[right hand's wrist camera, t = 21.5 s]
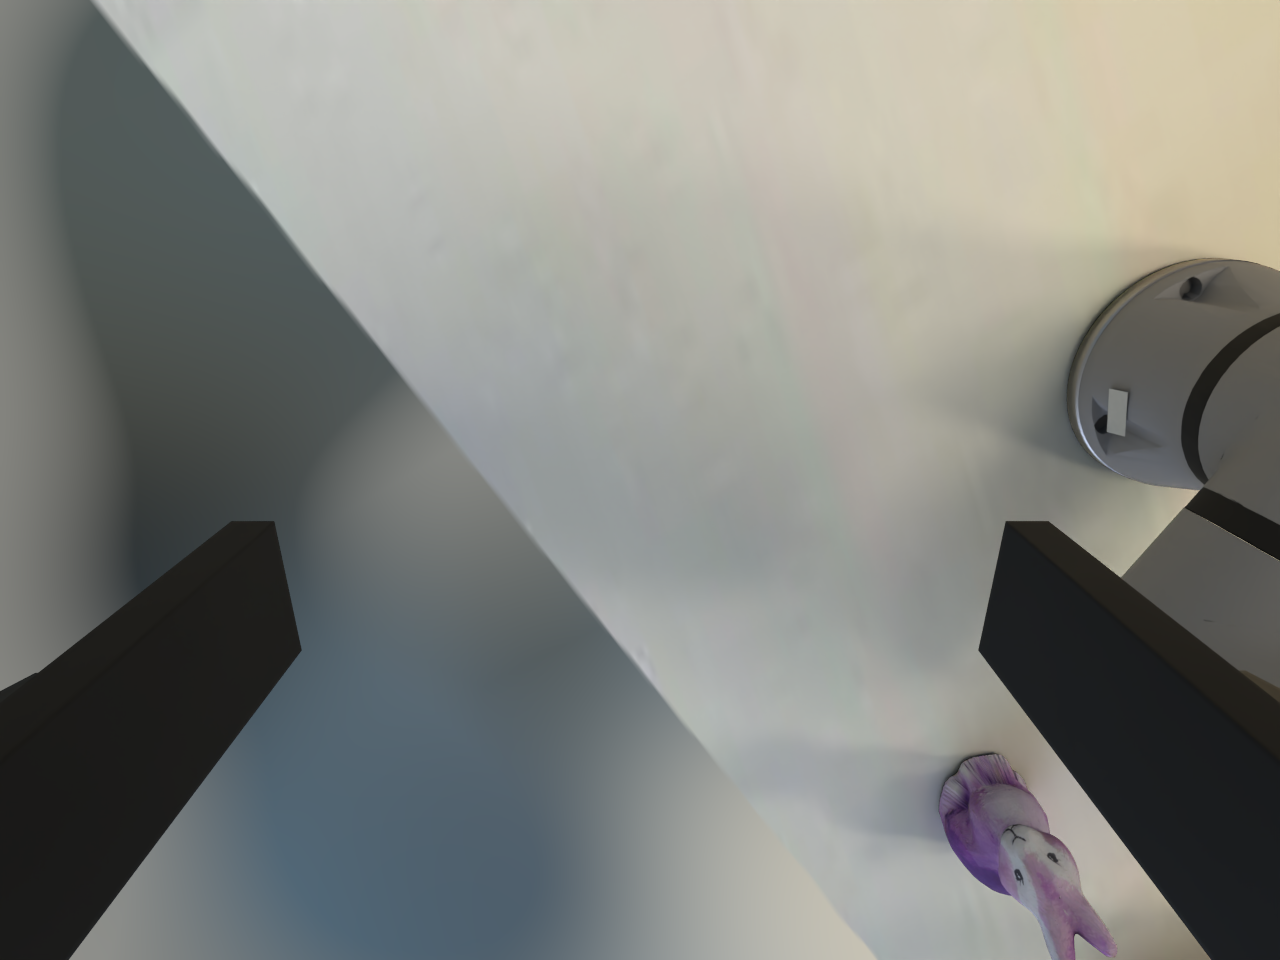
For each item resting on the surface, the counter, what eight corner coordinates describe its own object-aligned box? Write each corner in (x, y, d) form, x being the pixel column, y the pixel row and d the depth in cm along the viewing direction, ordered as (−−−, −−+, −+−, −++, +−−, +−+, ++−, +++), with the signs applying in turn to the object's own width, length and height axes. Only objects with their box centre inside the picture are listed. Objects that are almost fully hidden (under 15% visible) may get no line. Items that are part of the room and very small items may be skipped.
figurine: (971, 733, 60) (1072, 895, 46) (1058, 783, 62) (1179, 952, 48) (898, 803, 63) (973, 975, 49) (983, 849, 65) (1078, 1027, 51)
